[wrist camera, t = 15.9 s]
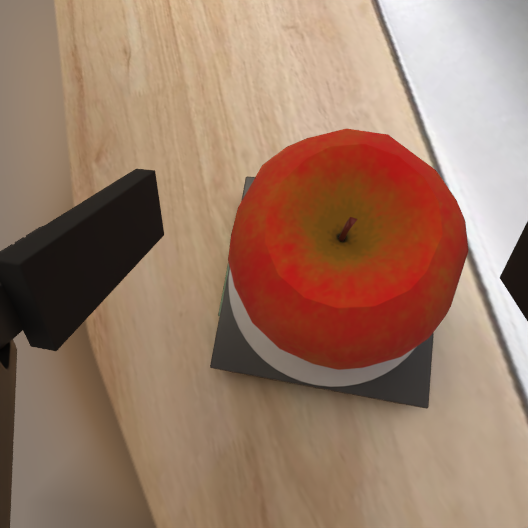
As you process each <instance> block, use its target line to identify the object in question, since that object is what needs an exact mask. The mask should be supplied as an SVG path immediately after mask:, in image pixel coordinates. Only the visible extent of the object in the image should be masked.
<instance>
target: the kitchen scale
mask: <svg viewBox="0 0 528 528" xmlns="http://www.w3.org/2000/svg"><path fill="white" fill-rule="evenodd" d="M254 179H255V177H246V180H245V185H244V190H243V196H242V200H243V198H244V196H245V195H246V193H247V191H248V189H249V188H250V186H251V184H252V183H253V181H254ZM241 202H242V201H241ZM218 316H220V317H219V322H218V328H217V333H216V338H215V344H214V349H213V354H212V359H211V365H210V367H211V368H214V369H220V370H225V371H230V372H236V373H241V374H246V375H252V376H257V377H262V378H267V379H273V380H278V381H283V382H289V383H294V384H299V385H305V386H310V387H315V388H321V389H326V390H331V391H337V392H342V393H347V394H353V395H358V396H363V397H368V398H374V399H379V400H384V401H390V402H395V403H400V404H406V405H411V406H416V407H422V408H428V405H429V390H430V376H431V361H432V346H433V333H432V335H431V336H430V337H429V338H428V339H427V340H425V341H424V342H422V343H421V344H420V345H418V346H417V347H415V348H414V349H412V350H411V351H409V352H408V353H406V354H405V355H403V356H402V357H399V358H396V359H392V360H389V361H385V362H382V363H378V364H375V365H371V366H368V367H364V368H355V369H343V370H337V369H332V368H328V367H324V366H320V365H315V364H312V363H310V362H308V361H305V360H303V359H301V358H299V357H297V356H294V355H292V354H290V353H288V352H285V351H283V350H281V349H279V348H278V347H277V346H276V345H275V344H274V343H273V342H272V341H271V340H270V339H269V338H268V337H267V336H266V335H265V334H264V333H262V332H261V331H260V330H259V329H258V328H257V327H256V326H255V325H254V324H253V323H252V321H251V319H250V317H249V315H248V313H247V311H246V309H245V307H244V305H243V303H242V301H241V299H240V297H239V295H238V293H237V291H236V289H235V287H234V283H233V278H232V274H231V270H230V266H229V262H228V267H227V272H226V277H225V283H224V288H223V293H222V298H221V304H220V309H219V314H218Z"/></svg>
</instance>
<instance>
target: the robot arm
mask: <svg viewBox="0 0 528 528" xmlns="http://www.w3.org/2000/svg"><path fill="white" fill-rule="evenodd" d="M163 236H164V230H163V223H162V216H161V209H160V202H159V195H158V188H157V181H156V174H155V171H154V170H144V169H135V170H133V171H132V172H130V173H129V174H127V175H125V176H124V177H122V178H120V179H119V180H117V181H116V182H114V183H112V184H111V185H109V186H108V187H106V188H104V189H103V190H101V191H100V192H98V193H96V194H95V195H93V196H91V197H90V198H88V199H87V200H85V201H83V202H82V203H80V204H79V205H77V206H75V207H74V208H72V209H71V210H69V211H67V212H66V213H64V214H63V215H61V216H59V217H58V218H56V219H54V220H53V221H51V222H50V223H48V224H47V225H45V226H42V227H39V228H38V229H36V230H34V231H33V232H32V233H30V234H28V235H26V237H25V238H21V239H20V240H18V241H17V242H15V244H14V245H10V246H8V247H7V248H5V249H4V250H2V251H0V528H10V511H11V485H12V462H13V436H14V413H15V387H16V362H17V349H16V345H15V343H14V341H13V338H14V337H16V336H17V334H19V333H20V332H21V331H22V330H23V331H24V333H25V335H26V337H27V339H28V341H29V344H30V346H32V347H37V348H42V349H48V350H53V351H57V350H58V349H59V348H60V347H61V346H62V344H63V343H64V342H65V341H66V340H67V339H68V338H69V337H70V336H71V335H72V334H73V333H74V331H75V330H76V329H77V328H78V327H79V326H80V325H81V324H82V323H83V322H84V321H85V320H86V319H87V318H88V316H89V315H90V314H91V313H92V312H93V311H94V310H95V309H96V308H97V307H98V306H99V305H100V303H101V302H102V301H103V300H104V299H105V298H106V297H107V296H108V295H109V294H110V293H111V292H112V291H113V289H114V288H115V287H116V286H117V285H118V284H119V283H120V282H121V281H122V280H123V279H124V278H125V277H126V275H127V274H128V273H129V272H130V271H131V270H132V269H133V268H134V267H135V266H136V265H137V264H138V262H139V261H140V260H141V259H142V258H143V257H144V256H145V255H146V254H147V253H148V252H149V251H150V250H151V248H152V247H153V246H154V245H155V244H156V243H157V242H158V241H159V240H160V239H161V238H162V237H163ZM500 279H501V281H502V282H503V284H504V285H505V287H506V288H507V290H508V291H509V293H510V295H511V296H512V298H513V299H514V301H515V302H516V304H517V305H518V307H519V309H520V310H521V312H522V313H523V315H524V316H525V318H526V319H527V321H528V222H527V224H526V226H525V228H524V230H523V232H522V234H521V236H520V238H519V240H518V242H517V244H516V246H515V248H514V250H513V252H512V254H511V256H510V258H509V260H508V262H507V264H506V266H505V268H504V270H503V272H502V274H501V276H500Z"/></svg>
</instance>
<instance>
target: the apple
mask: <svg viewBox="0 0 528 528" xmlns="http://www.w3.org/2000/svg"><path fill="white" fill-rule="evenodd" d="M467 254H468V243H467V234H466V225H465V220H464V217H463V215H462V212H461V210H460V208H459V205H458V203H457V200H456V199H455V198H454V196H453V195H452V193H451V192H450V190H449V189H448V187H447V186H446V184H445V183H444V181H443V180H442V179H441V177H440V176H439V174H438V173H437V172H436V170H435V169H433V168H432V167H431V166H429V165H428V164H427V163H425V162H424V161H422V160H421V159H420V158H418V157H417V156H416V155H414V154H413V153H412V152H410V151H409V150H408V149H406V148H405V147H404V146H402V145H401V144H400V143H398V142H397V141H396V140H394V139H393V138H392V137H390V136H389V135H386V134H379V133H372V132H366V131H359V130H352V129H343V130H339V131H335V132H331V133H327V134H323V135H319V136H315V137H311V138H307V139H304V140H302V141H300V142H297V143H295V144H293V145H290V146H288V147H286V148H285V149H283V150H282V151H281V152H279V153H278V154H277V155H275V156H274V157H273V158H271V159H270V160H269V161H267V162H266V163H265V164H263V165H262V167H261V169H260V170H259V172H258V174H257V176H256V177H255V179H254V181H253V183H252V184H251V186H250V188H249V189H248V191H247V193H246V195H245V196H244V198H243V200H242V202H241V203H240V205H239V207H238V210H237V214H236V218H235V222H234V226H233V230H232V234H231V242H230V249H229V257H228V261H229V266H230V270H231V274H232V278H233V283H234V287H235V289H236V291H237V293H238V295H239V297H240V299H241V301H242V303H243V305H244V307H245V309H246V311H247V313H248V315H249V317H250V319H251V321H252V323H253V324H254V325H255V326H256V327H257V328H258V329H259V330H260V331H261V332H262V333H264V334H265V335H266V336H267V337H268V338H269V339H270V340H271V341H272V342H273V343H274V344H275V345H276V346H277V347H278V348H279V349H281V350H283V351H285V352H288V353H290V354H292V355H294V356H297V357H299V358H301V359H303V360H305V361H308V362H310V363H312V364H315V365H320V366H324V367H328V368H332V369H337V370H343V369H355V368H364V367H368V366H371V365H375V364H378V363H382V362H385V361H389V360H392V359H396V358H399V357H402V356H403V355H405V354H406V353H408V352H409V351H411V350H412V349H414V348H415V347H417V346H418V345H420V344H421V343H422V342H424V341H425V340H427V339H428V338H429V337H430V336H431V335H432V333H433V332H434V331H435V329H436V328H437V327H438V325H439V324H440V323H441V321H442V320H443V318H444V317H445V316H446V314H447V312H448V310H449V308H450V307H451V304H452V301H453V298H454V294H455V291H456V288H457V285H458V282H459V279H460V276H461V272H462V269H463V266H464V263H465V260H466V257H467Z"/></svg>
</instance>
